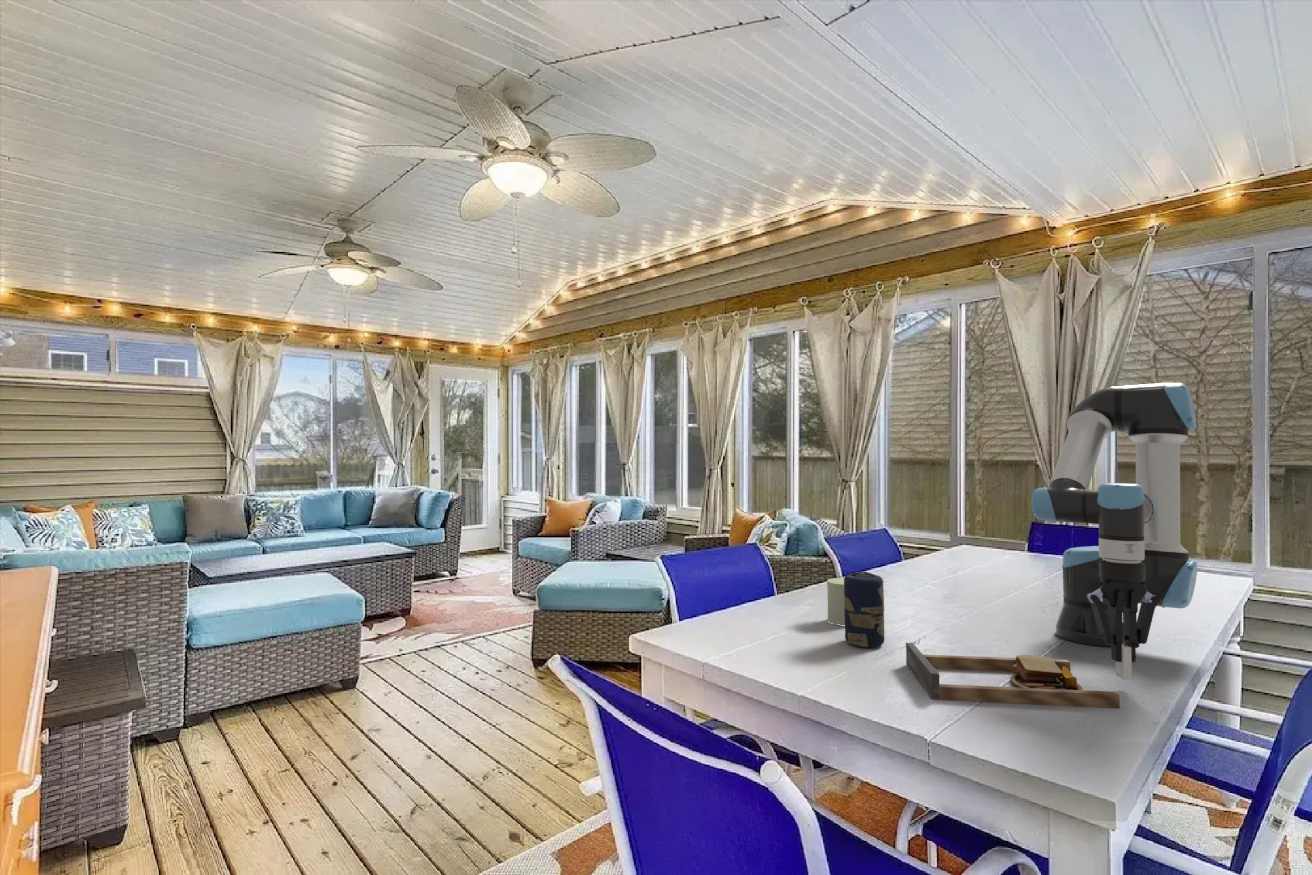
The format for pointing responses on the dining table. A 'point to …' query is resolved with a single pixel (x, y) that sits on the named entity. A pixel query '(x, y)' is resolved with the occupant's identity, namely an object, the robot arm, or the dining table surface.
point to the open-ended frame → (929, 680)
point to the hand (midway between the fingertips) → (1123, 677)
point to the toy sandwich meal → (1042, 674)
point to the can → (836, 601)
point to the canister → (864, 609)
